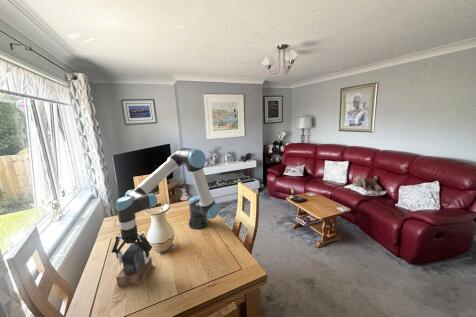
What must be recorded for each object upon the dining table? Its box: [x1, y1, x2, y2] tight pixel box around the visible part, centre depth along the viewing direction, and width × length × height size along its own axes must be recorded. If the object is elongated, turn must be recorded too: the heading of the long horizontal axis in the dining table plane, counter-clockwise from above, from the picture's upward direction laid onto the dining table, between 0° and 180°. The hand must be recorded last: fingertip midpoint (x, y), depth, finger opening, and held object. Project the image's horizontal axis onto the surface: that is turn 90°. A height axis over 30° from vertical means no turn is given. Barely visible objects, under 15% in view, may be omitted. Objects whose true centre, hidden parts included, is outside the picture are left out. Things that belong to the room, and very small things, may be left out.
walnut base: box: [115, 256, 153, 287], centre depth 108 cm, size 12×14×5 cm
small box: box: [122, 243, 144, 274], centre depth 106 cm, size 11×6×10 cm, turn 3°
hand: (134, 262), depth 107 cm, fingers open, 13 cm apart
